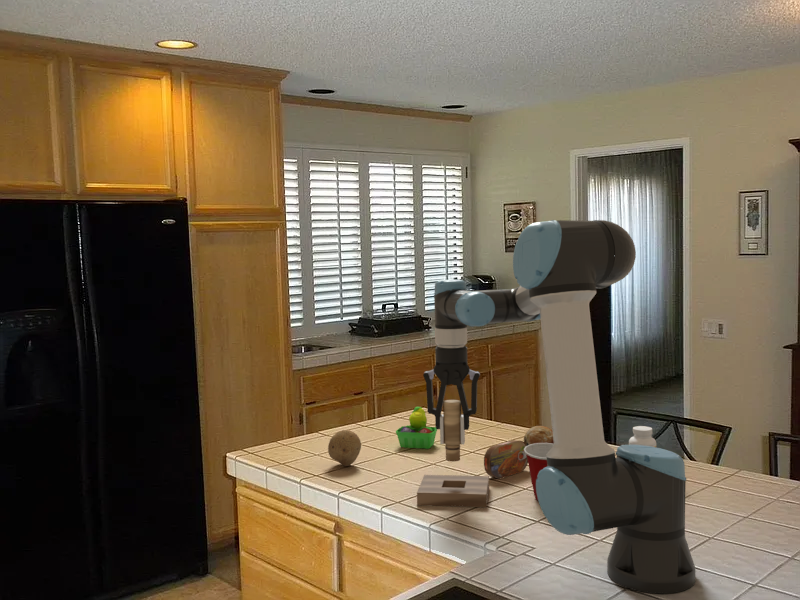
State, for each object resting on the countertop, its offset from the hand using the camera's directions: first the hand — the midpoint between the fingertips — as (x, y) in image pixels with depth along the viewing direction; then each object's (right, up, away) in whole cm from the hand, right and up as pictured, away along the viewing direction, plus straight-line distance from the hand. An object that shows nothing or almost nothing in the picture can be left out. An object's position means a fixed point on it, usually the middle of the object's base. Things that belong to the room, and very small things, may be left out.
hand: (452, 442), depth 188 cm
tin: (+15, -12, +18) cm, 26 cm away
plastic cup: (+22, -13, -3) cm, 26 cm away
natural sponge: (-28, -12, +28) cm, 41 cm away
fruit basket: (-7, -10, +48) cm, 50 cm away
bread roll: (+29, -9, +44) cm, 54 cm away
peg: (0, -4, 0) cm, 4 cm away
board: (0, -13, +1) cm, 13 cm away
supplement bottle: (+49, -11, +11) cm, 51 cm away
